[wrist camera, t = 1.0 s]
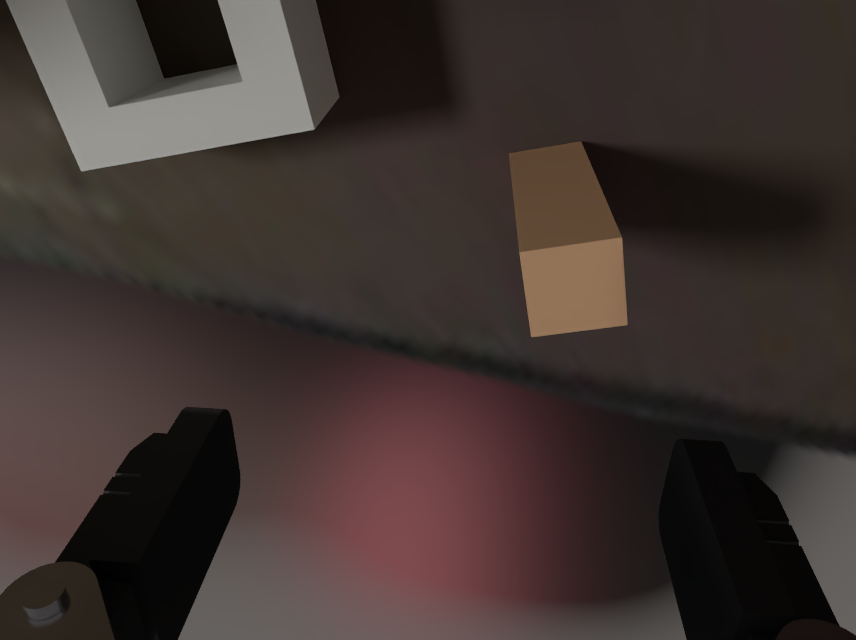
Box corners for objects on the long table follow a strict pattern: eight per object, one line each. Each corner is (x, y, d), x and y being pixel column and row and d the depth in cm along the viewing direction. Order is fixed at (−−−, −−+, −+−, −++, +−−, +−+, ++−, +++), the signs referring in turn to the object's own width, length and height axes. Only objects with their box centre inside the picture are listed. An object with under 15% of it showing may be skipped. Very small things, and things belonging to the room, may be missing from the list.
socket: (275, -163, 25) (231, -178, 20) (339, 97, 29) (314, 129, 25) (44, -106, 26) (-43, -109, 22) (138, 134, 30) (81, 171, 26)
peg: (581, 141, 29) (622, 237, 21) (587, 208, 31) (627, 324, 22) (508, 153, 30) (519, 252, 21) (517, 219, 31) (531, 337, 23)
